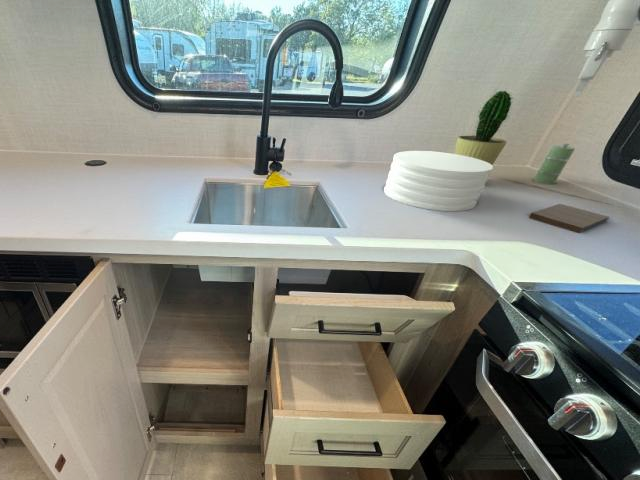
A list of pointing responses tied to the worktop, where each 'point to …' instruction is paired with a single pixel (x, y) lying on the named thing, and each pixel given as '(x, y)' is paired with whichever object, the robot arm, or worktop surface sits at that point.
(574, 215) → the walnut board
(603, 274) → the worktop surface
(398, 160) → the plate stack
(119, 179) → the worktop surface
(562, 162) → the green ridged cylinder
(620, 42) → the robot arm
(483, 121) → the potted cactus
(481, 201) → the worktop surface
